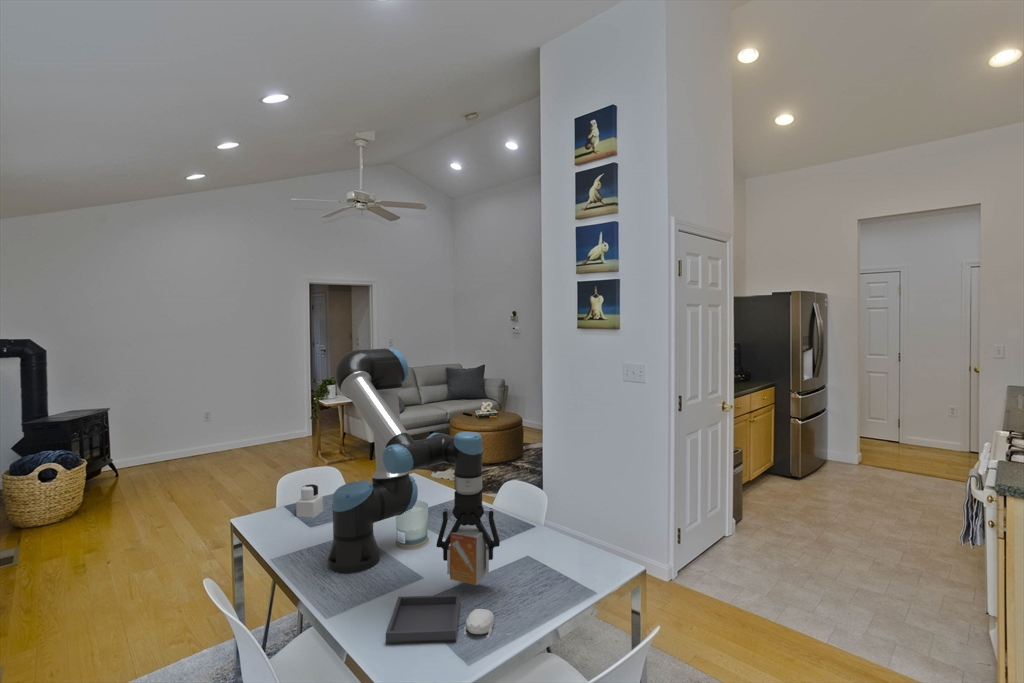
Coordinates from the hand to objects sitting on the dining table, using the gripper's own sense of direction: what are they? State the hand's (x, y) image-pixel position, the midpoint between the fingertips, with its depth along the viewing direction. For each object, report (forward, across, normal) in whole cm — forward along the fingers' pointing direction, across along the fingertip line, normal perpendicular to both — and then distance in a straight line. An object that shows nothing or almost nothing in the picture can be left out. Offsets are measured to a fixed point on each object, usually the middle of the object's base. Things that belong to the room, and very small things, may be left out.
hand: (468, 571), depth 137 cm
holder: (+4, -10, -16) cm, 19 cm away
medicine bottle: (+7, -63, +57) cm, 85 cm away
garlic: (+5, +4, -19) cm, 20 cm away
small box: (+2, 0, 0) cm, 2 cm away
